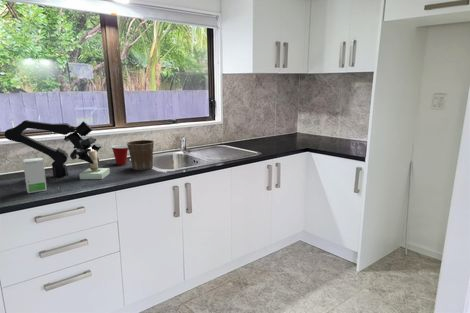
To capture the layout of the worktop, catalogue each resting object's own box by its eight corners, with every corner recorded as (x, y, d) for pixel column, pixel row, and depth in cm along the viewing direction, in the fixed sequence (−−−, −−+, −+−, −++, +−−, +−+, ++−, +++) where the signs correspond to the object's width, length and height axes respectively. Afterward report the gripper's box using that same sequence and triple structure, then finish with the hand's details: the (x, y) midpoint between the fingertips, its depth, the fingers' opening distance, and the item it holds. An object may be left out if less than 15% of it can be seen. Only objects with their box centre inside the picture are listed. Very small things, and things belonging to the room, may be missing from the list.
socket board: (80, 179, 178) (79, 174, 178) (89, 173, 190) (88, 168, 189) (102, 178, 179) (101, 173, 178) (109, 173, 190) (109, 168, 190)
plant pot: (123, 171, 195) (121, 144, 191) (135, 164, 210) (133, 139, 207) (149, 171, 192) (148, 144, 189) (159, 165, 208) (158, 140, 205)
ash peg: (89, 174, 182) (87, 151, 179) (92, 172, 186) (90, 150, 183) (97, 174, 182) (95, 151, 179) (100, 172, 186) (98, 150, 183)
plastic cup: (132, 164, 210) (131, 146, 208) (115, 166, 204) (113, 148, 202) (127, 161, 219) (126, 143, 216) (111, 163, 213) (109, 145, 211)
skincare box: (27, 193, 156) (22, 161, 152) (26, 190, 161) (21, 159, 157) (47, 190, 160) (43, 159, 157) (46, 187, 166) (41, 157, 162)
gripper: (71, 134, 171) (90, 156, 170) (97, 130, 189) (114, 149, 188) (61, 148, 176) (80, 170, 175) (87, 142, 193) (104, 162, 192)
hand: (95, 162), depth 182 cm, fingers closed on ash peg, 4 cm apart
